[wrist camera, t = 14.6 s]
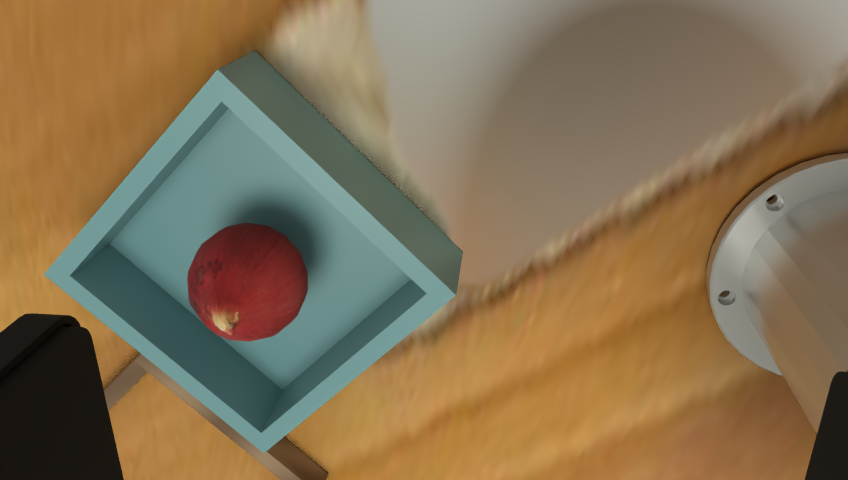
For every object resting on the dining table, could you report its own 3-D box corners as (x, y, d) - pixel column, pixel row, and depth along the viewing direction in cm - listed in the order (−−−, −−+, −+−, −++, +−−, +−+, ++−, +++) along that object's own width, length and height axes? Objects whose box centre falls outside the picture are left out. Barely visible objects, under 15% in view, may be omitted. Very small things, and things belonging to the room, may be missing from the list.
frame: (328, 473, 47) (320, 495, 45) (201, 570, 52) (189, 593, 50) (158, 333, 44) (143, 351, 42) (42, 450, 49) (24, 471, 47)
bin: (462, 251, 39) (456, 295, 35) (289, 399, 45) (263, 453, 40) (254, 50, 36) (217, 69, 32) (94, 235, 42) (43, 274, 37)
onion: (222, 291, 41) (159, 371, 34) (216, 196, 39) (147, 260, 31) (323, 302, 41) (281, 386, 33) (323, 207, 38) (278, 275, 31)
